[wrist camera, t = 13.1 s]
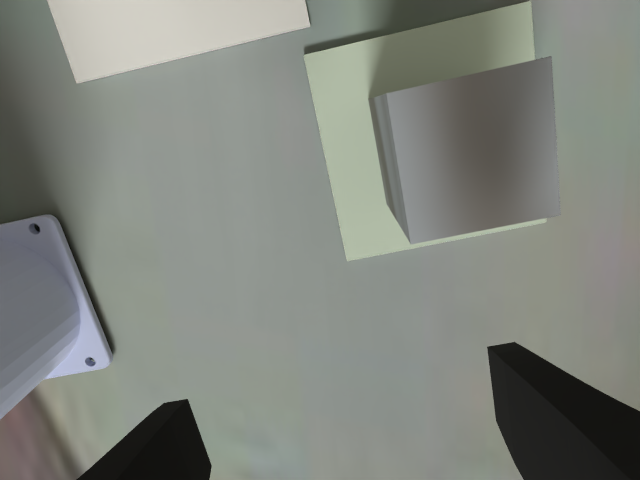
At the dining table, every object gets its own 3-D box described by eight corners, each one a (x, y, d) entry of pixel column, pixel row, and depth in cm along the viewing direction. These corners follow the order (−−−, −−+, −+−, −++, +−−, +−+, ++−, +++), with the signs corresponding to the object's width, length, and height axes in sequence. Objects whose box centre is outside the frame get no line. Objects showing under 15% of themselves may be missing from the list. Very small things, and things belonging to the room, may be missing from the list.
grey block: (386, 204, 19) (411, 244, 13) (368, 99, 18) (386, 93, 12) (489, 182, 19) (560, 215, 13) (478, 74, 17) (551, 56, 12)
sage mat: (346, 259, 20) (346, 261, 20) (303, 56, 18) (303, 55, 17) (542, 220, 19) (546, 222, 19) (527, 2, 17) (531, 0, 16)
